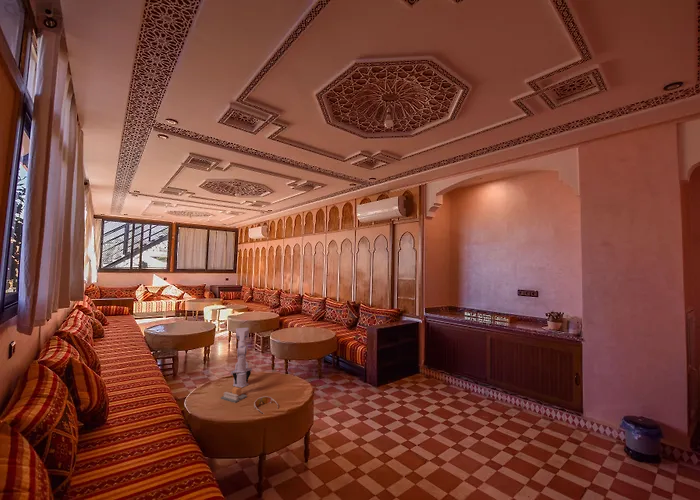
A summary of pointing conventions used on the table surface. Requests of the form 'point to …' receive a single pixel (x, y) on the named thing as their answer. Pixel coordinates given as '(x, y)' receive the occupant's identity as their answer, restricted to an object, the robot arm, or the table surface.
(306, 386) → the table surface
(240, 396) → the board
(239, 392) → the block
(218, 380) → the table surface
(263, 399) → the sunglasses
